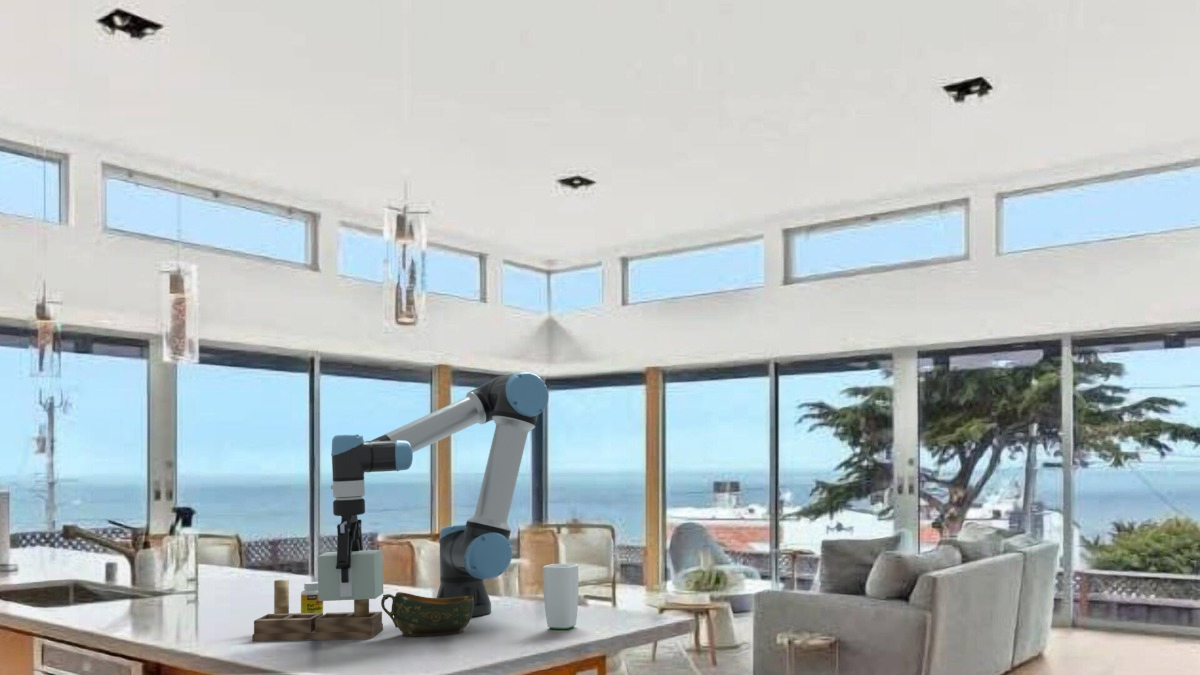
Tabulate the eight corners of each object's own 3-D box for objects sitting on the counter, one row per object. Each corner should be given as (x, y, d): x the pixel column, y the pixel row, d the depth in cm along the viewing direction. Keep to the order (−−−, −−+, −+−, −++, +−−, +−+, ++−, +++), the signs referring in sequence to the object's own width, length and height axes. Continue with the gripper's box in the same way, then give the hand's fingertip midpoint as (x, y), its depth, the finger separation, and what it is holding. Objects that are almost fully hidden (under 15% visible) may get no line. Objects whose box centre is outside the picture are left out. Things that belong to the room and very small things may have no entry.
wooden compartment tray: (382, 629, 264) (382, 572, 266) (371, 638, 252) (371, 578, 254) (269, 632, 265) (269, 575, 266) (252, 641, 253) (252, 581, 254)
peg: (290, 628, 270) (290, 579, 271) (286, 630, 266) (286, 581, 267) (276, 628, 270) (276, 579, 271) (272, 631, 266) (272, 581, 267)
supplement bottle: (304, 625, 273) (304, 584, 274) (297, 623, 277) (297, 582, 278) (326, 623, 276) (326, 582, 277) (319, 620, 280) (319, 580, 281)
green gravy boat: (399, 628, 265) (399, 586, 266) (477, 630, 261) (477, 587, 262) (378, 638, 253) (378, 594, 254) (460, 640, 249) (459, 595, 250)
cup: (581, 626, 262) (580, 564, 263) (569, 631, 255) (567, 567, 257) (554, 624, 265) (553, 563, 266) (541, 630, 258) (540, 566, 260)
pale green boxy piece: (383, 593, 264) (382, 549, 265) (375, 598, 255) (373, 553, 256) (328, 595, 264) (327, 552, 265) (318, 601, 255) (317, 556, 256)
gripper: (345, 496, 272) (347, 587, 270) (320, 502, 251) (323, 601, 249) (374, 494, 272) (377, 586, 270) (353, 500, 251) (355, 599, 249)
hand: (351, 593), depth 260 cm, fingers closed on pale green boxy piece, 9 cm apart
